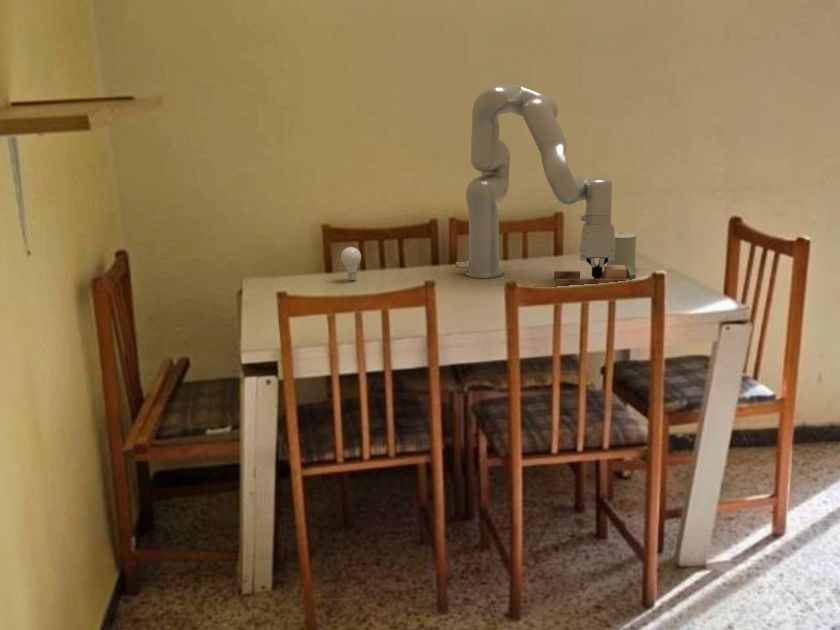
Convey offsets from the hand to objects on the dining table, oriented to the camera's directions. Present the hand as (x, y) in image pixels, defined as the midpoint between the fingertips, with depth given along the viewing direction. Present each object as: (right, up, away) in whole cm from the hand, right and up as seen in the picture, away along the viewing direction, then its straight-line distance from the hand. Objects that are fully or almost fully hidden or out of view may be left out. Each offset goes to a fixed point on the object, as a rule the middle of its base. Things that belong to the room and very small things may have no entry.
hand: (596, 278), depth 273 cm
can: (+11, +3, +17) cm, 20 cm away
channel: (-2, -1, +1) cm, 2 cm away
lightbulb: (-76, 0, +13) cm, 77 cm away
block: (+6, -1, 0) cm, 6 cm away
